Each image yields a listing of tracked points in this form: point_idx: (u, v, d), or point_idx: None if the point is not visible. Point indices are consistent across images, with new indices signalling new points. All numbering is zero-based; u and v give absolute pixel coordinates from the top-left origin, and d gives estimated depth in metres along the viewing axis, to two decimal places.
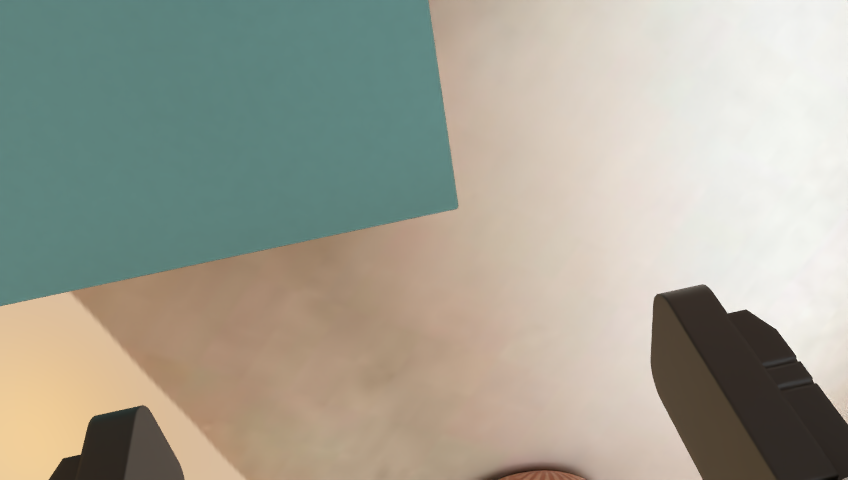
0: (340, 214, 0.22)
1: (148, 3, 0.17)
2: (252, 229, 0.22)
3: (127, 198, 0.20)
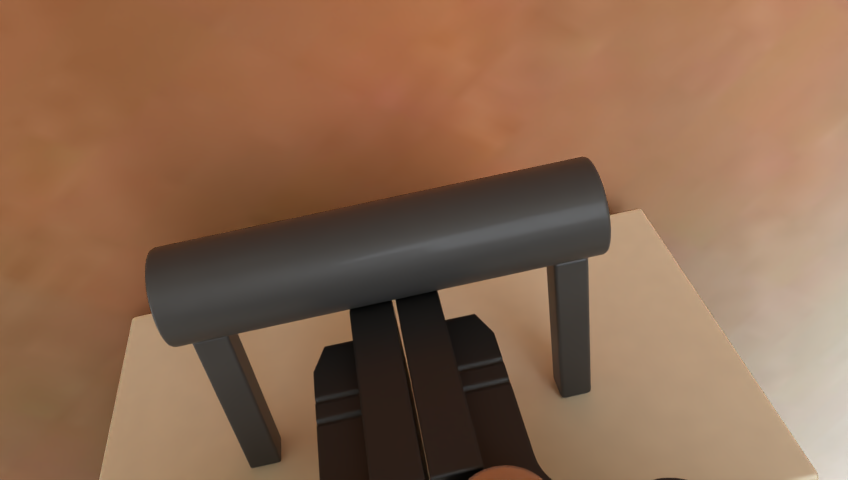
0: None
1: None
2: None
3: None
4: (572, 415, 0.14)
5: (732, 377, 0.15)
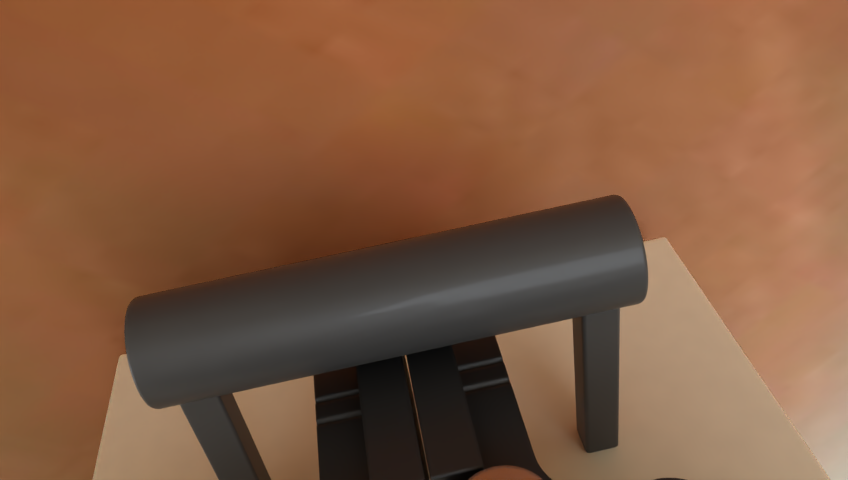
0: None
1: None
2: None
3: None
4: (598, 473, 0.13)
5: (773, 431, 0.13)
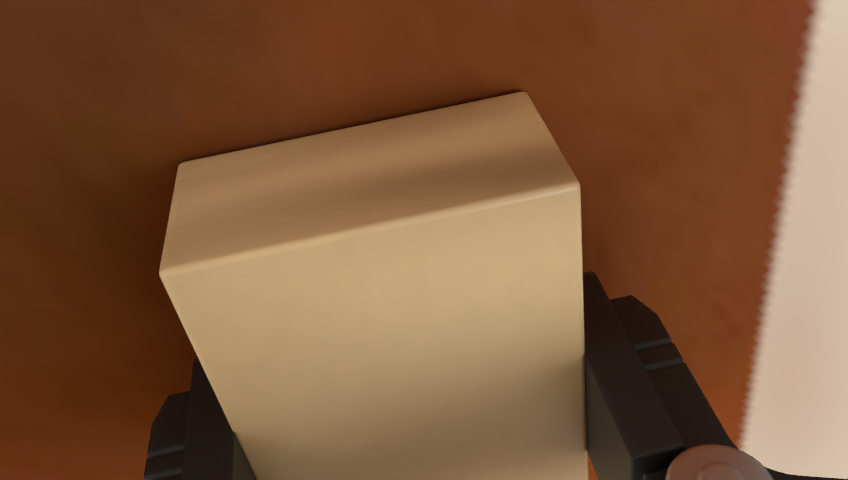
0: None
1: None
2: None
3: None
4: None
5: None
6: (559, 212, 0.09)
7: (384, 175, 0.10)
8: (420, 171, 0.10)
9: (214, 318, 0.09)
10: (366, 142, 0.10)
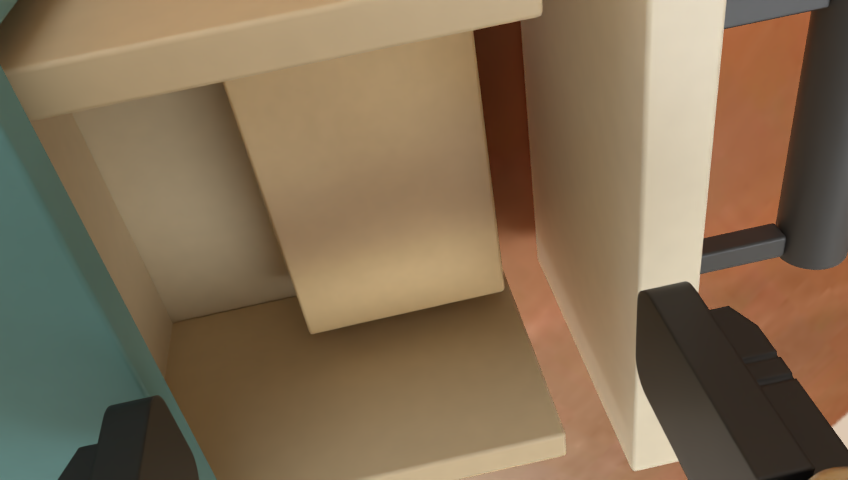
0: None
1: None
2: None
3: None
4: None
5: None
6: None
7: None
8: None
9: None
10: None
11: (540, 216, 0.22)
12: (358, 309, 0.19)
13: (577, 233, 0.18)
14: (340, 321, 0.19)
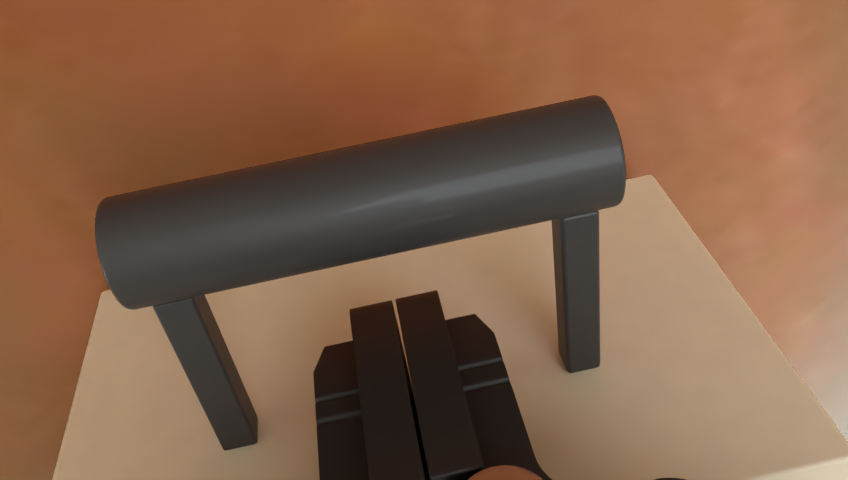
0: None
1: None
2: None
3: None
4: (579, 392, 0.13)
5: (756, 350, 0.13)
6: None
7: None
8: None
9: None
10: None
11: None
12: None
13: None
14: None
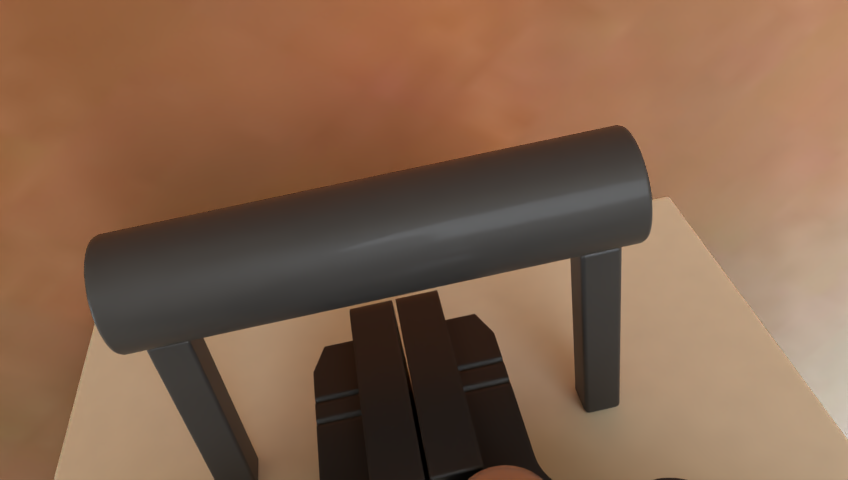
0: None
1: None
2: None
3: None
4: (597, 433, 0.12)
5: (784, 389, 0.13)
6: None
7: None
8: None
9: None
10: None
11: None
12: None
13: None
14: None
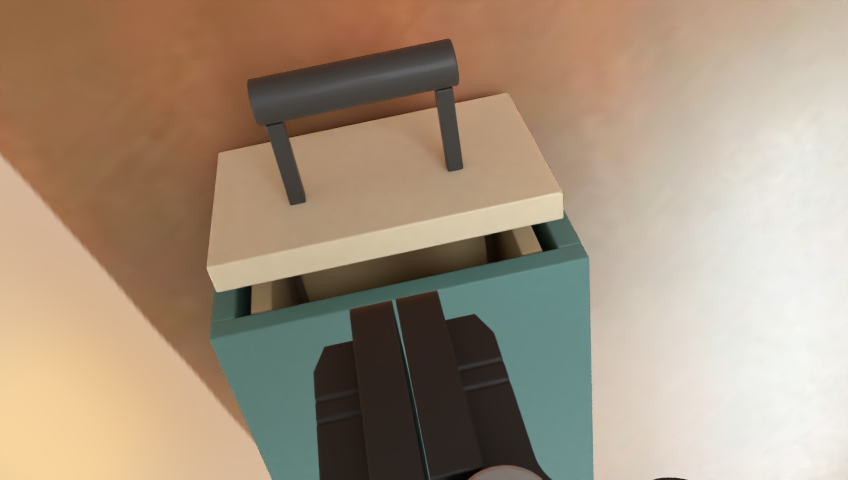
0: None
1: None
2: None
3: None
4: (452, 178, 0.29)
5: (533, 159, 0.29)
6: None
7: None
8: None
9: None
10: None
11: None
12: None
13: None
14: None
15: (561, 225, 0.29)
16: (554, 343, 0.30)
